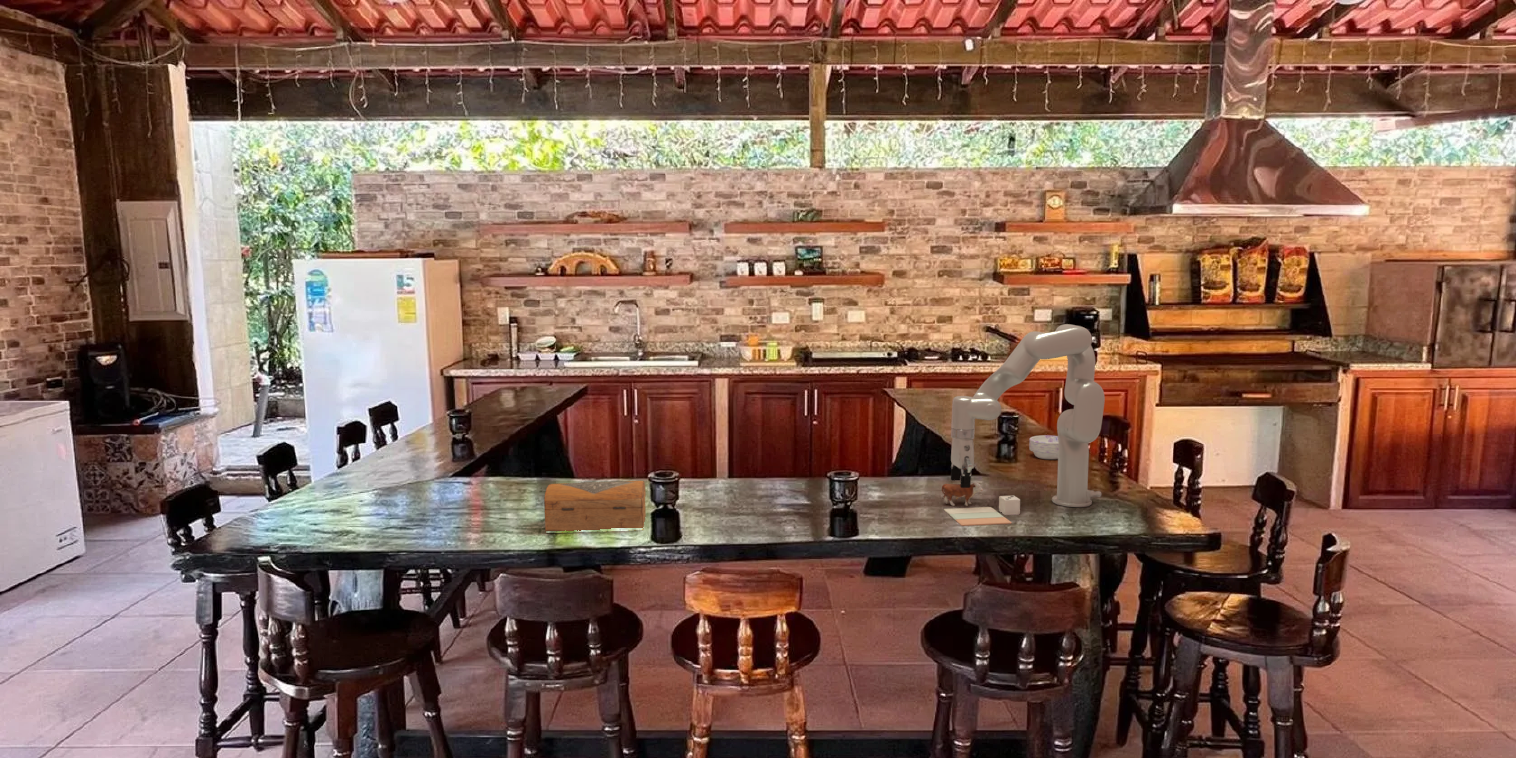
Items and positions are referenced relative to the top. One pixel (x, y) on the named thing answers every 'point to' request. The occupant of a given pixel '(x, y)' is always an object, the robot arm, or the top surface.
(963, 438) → the robot arm
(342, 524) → the top surface
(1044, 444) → the paper bowls
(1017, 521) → the top surface
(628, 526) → the wooden box
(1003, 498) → the die
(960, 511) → the game board
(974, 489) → the bull figurine
